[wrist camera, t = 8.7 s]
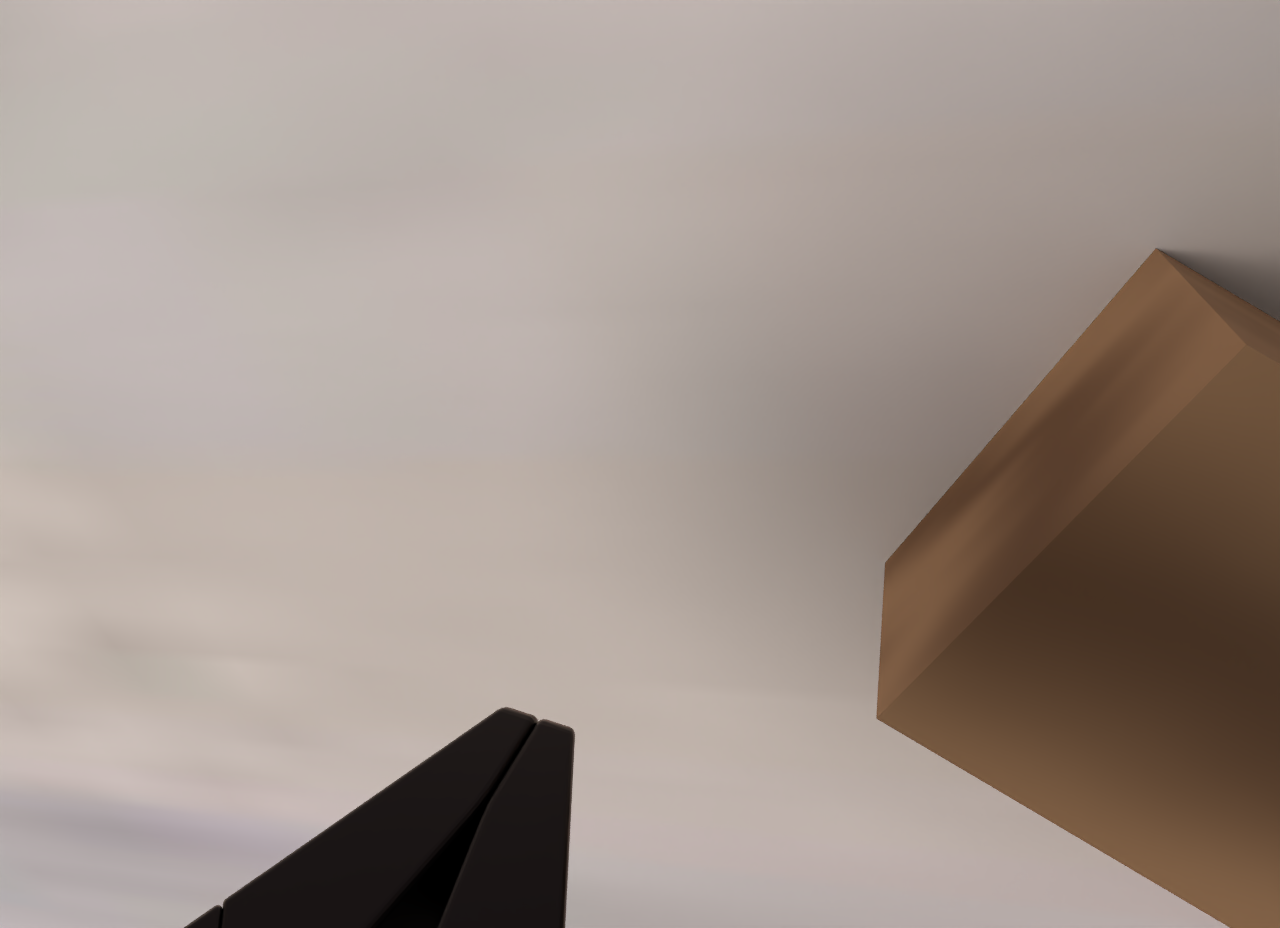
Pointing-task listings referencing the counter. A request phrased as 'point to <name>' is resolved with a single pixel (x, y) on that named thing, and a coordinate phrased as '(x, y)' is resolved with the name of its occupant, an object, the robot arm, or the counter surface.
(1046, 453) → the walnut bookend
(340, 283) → the counter surface
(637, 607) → the counter surface
